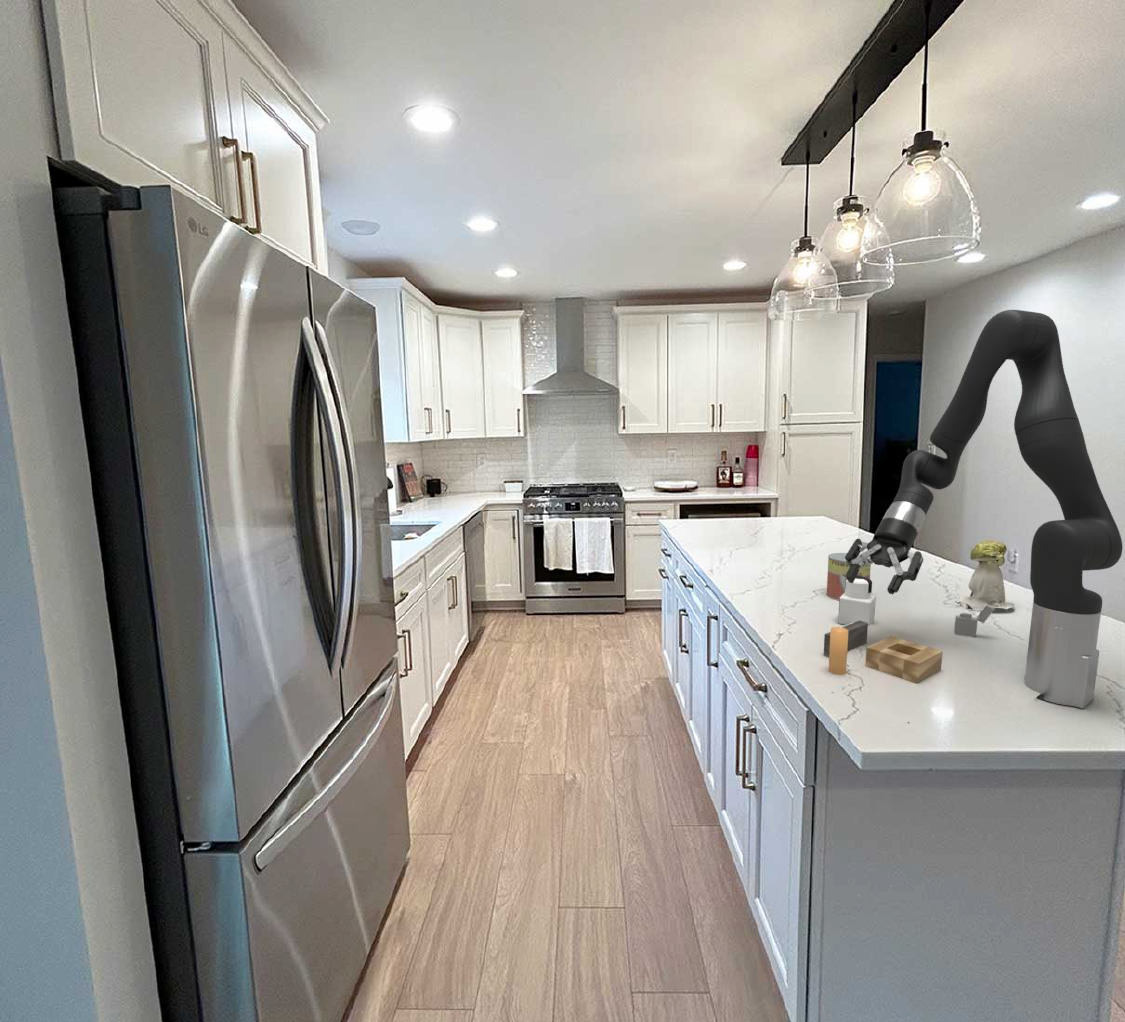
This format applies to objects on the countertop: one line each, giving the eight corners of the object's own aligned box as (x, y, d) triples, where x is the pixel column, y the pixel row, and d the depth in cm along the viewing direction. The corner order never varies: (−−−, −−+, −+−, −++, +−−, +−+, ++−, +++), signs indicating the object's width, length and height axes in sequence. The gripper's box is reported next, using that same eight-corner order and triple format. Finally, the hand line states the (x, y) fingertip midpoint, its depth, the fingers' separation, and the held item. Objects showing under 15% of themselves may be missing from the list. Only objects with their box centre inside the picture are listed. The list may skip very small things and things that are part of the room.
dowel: (848, 677, 112) (851, 630, 111) (840, 681, 111) (842, 633, 109) (833, 671, 115) (836, 625, 114) (825, 675, 113) (827, 629, 112)
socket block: (941, 669, 112) (942, 651, 111) (917, 683, 107) (918, 663, 106) (889, 653, 120) (890, 636, 120) (865, 665, 115) (866, 647, 114)
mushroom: (1027, 613, 146) (1034, 545, 144) (979, 614, 146) (985, 546, 143) (991, 599, 158) (997, 536, 155) (947, 600, 158) (952, 537, 155)
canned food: (830, 601, 159) (833, 561, 158) (822, 590, 170) (824, 552, 168) (874, 603, 157) (876, 562, 155) (862, 592, 168) (865, 553, 166)
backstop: (950, 674, 113) (952, 646, 112) (917, 694, 105) (919, 664, 104) (853, 643, 129) (855, 619, 128) (818, 658, 121) (820, 632, 120)
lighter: (954, 634, 133) (957, 602, 132) (954, 632, 135) (956, 600, 134) (991, 639, 130) (994, 607, 128) (990, 637, 131) (993, 604, 130)
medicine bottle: (844, 616, 147) (846, 572, 146) (874, 621, 143) (877, 576, 141) (837, 623, 142) (840, 578, 140) (868, 629, 137) (871, 583, 136)
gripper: (862, 511, 127) (831, 569, 123) (931, 523, 116) (900, 587, 112) (871, 529, 131) (841, 586, 127) (939, 542, 120) (908, 605, 116)
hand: (869, 586), depth 119 cm, fingers open, 8 cm apart
